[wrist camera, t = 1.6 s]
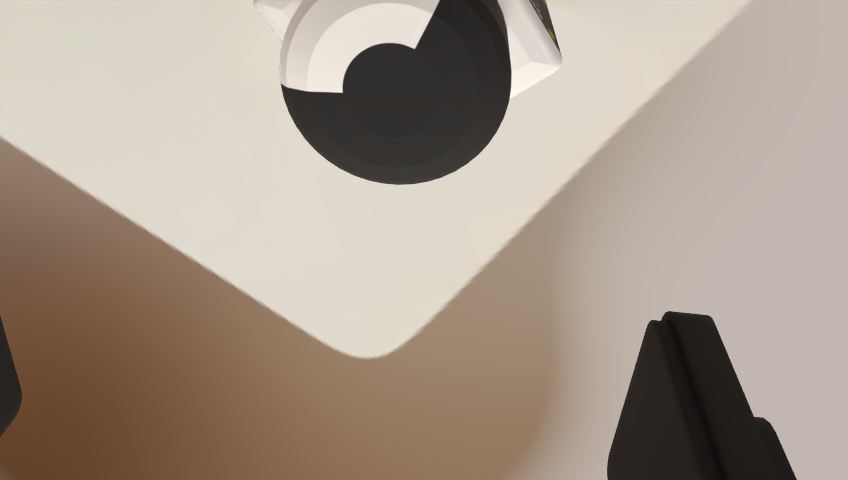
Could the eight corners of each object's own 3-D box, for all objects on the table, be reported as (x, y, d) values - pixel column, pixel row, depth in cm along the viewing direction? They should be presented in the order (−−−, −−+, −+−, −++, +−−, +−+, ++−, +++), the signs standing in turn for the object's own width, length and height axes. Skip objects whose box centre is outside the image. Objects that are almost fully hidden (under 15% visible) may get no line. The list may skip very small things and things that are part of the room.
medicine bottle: (549, 7, 29) (587, 132, 19) (400, 100, 31) (363, 256, 21) (449, -165, 26) (430, -127, 16) (294, -47, 29) (191, 51, 18)
